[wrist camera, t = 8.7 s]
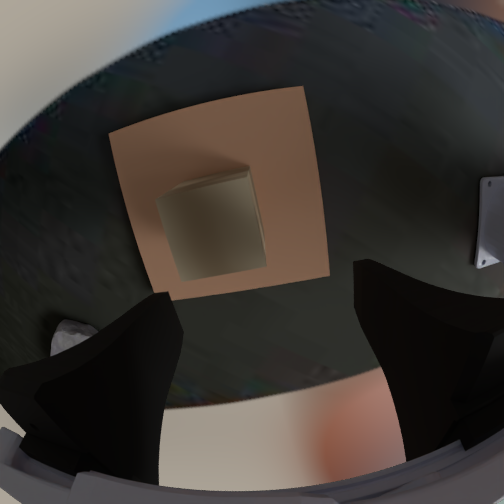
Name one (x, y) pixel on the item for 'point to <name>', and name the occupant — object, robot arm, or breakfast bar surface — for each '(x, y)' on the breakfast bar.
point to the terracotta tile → (223, 159)
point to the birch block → (214, 225)
